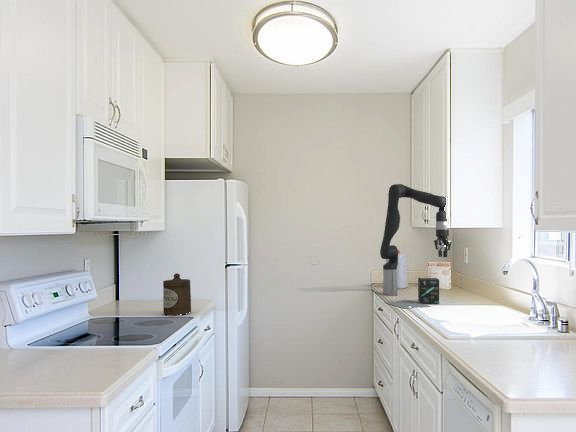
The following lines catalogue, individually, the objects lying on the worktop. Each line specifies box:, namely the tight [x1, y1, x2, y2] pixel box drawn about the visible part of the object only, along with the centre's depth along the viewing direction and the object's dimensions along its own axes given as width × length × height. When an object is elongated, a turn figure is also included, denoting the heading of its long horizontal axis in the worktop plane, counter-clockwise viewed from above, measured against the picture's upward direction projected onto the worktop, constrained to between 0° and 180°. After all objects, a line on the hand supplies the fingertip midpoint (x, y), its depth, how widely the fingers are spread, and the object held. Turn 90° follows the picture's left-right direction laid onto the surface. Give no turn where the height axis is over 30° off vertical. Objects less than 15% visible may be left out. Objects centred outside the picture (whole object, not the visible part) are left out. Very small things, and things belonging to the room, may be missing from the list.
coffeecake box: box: [427, 261, 452, 291], centre depth 339 cm, size 15×7×20 cm, turn 58°
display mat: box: [383, 300, 432, 310], centre depth 273 cm, size 22×18×1 cm
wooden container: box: [162, 273, 192, 316], centre depth 255 cm, size 15×15×22 cm
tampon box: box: [417, 277, 440, 305], centre depth 278 cm, size 11×9×15 cm
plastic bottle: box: [385, 249, 409, 290], centre depth 347 cm, size 15×15×28 cm
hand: (442, 256), depth 282 cm, fingers open, 4 cm apart
